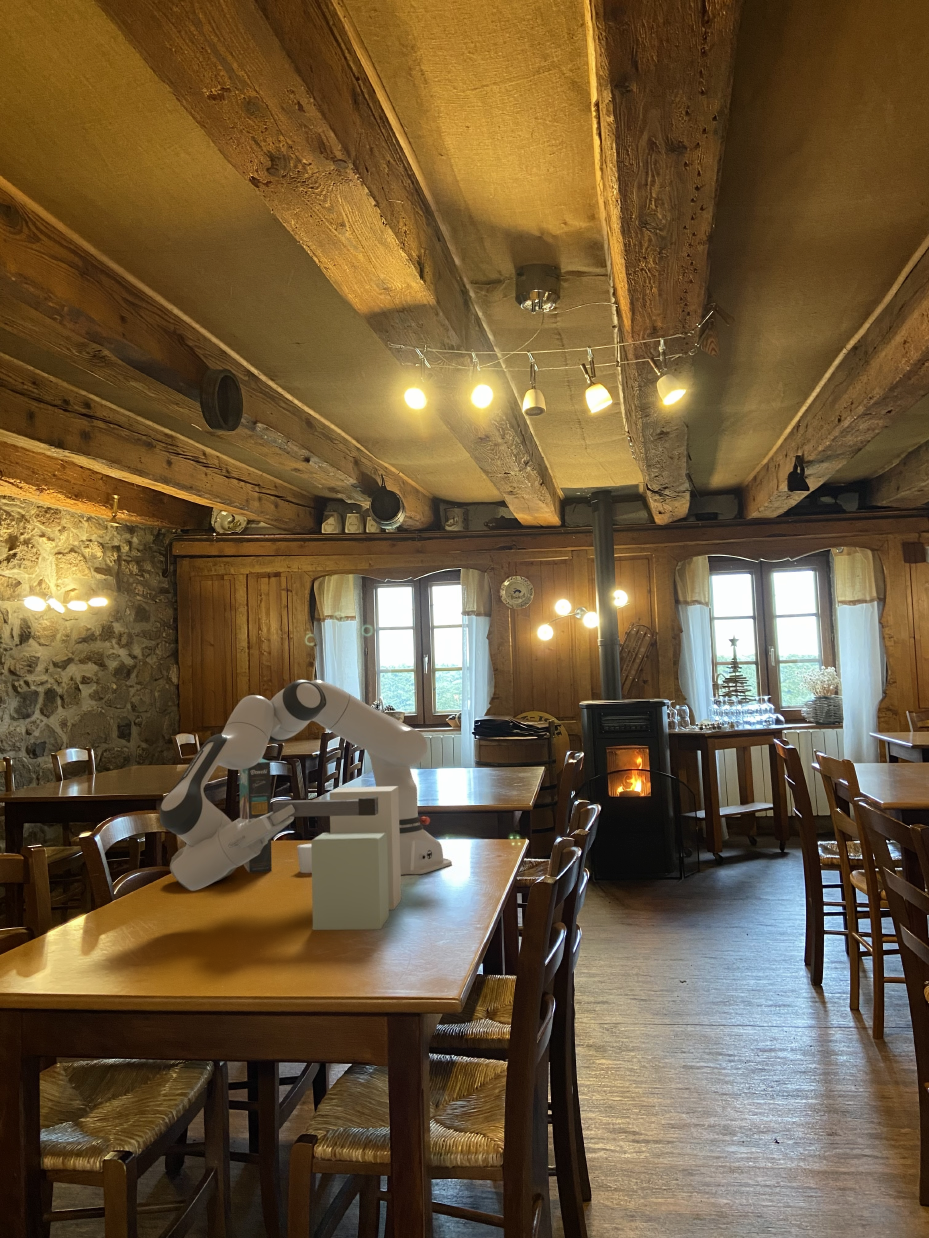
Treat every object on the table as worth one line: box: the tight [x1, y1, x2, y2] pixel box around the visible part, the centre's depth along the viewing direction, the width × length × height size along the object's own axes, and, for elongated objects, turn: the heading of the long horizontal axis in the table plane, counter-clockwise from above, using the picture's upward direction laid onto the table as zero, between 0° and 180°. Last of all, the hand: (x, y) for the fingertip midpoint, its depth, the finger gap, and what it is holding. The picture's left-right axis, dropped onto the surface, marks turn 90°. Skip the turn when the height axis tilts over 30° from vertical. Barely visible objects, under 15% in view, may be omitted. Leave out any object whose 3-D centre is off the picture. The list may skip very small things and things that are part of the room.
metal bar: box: [272, 797, 378, 818], centre depth 186 cm, size 22×4×4 cm, turn 85°
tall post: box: [329, 786, 402, 911], centre depth 201 cm, size 14×10×26 cm
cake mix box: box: [238, 757, 273, 874], centre depth 253 cm, size 22×6×30 cm, turn 21°
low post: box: [311, 832, 390, 931], centre depth 184 cm, size 14×10×18 cm
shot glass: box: [296, 842, 312, 874], centre depth 241 cm, size 7×7×7 cm
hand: (297, 806), depth 187 cm, fingers closed on metal bar, 3 cm apart
